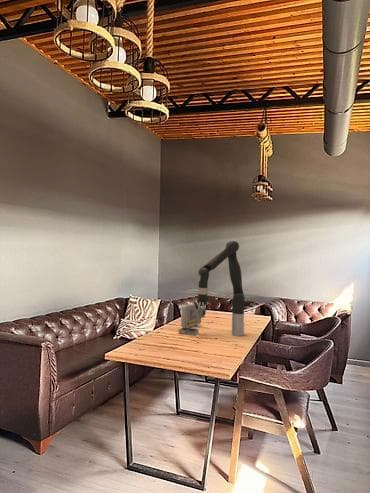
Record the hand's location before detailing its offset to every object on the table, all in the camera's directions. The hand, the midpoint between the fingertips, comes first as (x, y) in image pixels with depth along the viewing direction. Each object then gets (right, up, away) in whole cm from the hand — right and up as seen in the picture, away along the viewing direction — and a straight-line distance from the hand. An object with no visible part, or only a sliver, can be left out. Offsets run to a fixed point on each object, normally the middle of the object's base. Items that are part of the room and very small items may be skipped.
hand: (201, 315), depth 308 cm
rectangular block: (0, -2, 0) cm, 2 cm away
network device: (-8, -16, +26) cm, 31 cm away
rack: (-10, -15, +3) cm, 19 cm away
